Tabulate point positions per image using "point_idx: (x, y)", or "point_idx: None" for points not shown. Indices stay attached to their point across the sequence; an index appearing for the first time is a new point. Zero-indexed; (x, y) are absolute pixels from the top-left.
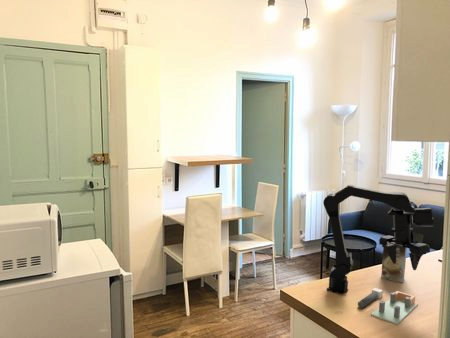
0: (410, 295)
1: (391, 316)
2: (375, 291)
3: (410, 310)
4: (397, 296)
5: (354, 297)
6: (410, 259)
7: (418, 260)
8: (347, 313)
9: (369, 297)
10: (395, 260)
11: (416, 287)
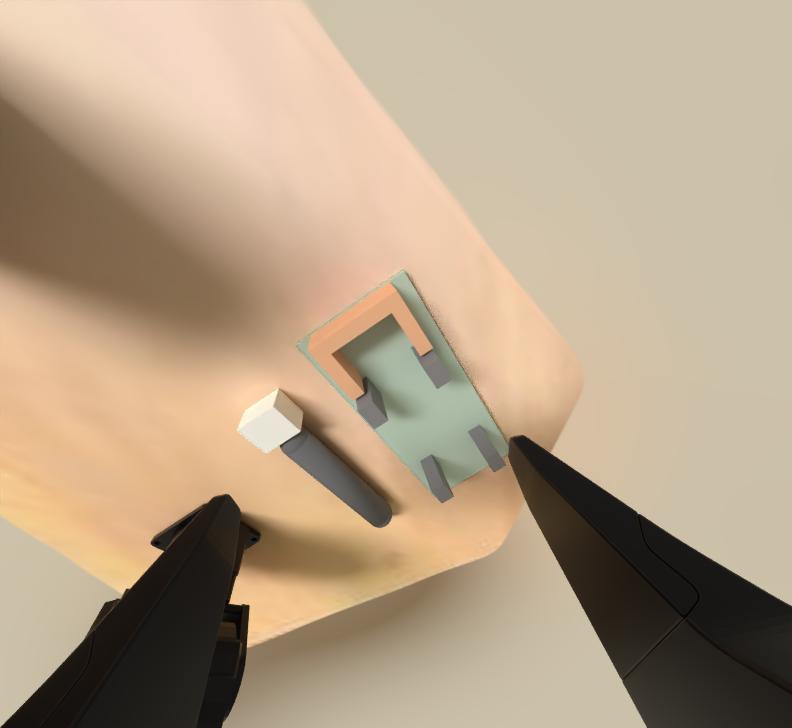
0: (382, 312)
1: (470, 449)
2: (282, 441)
3: (455, 358)
4: (340, 357)
5: (289, 498)
6: (606, 644)
7: (660, 547)
8: (405, 543)
9: (348, 488)
10: (217, 535)
11: (87, 5)
